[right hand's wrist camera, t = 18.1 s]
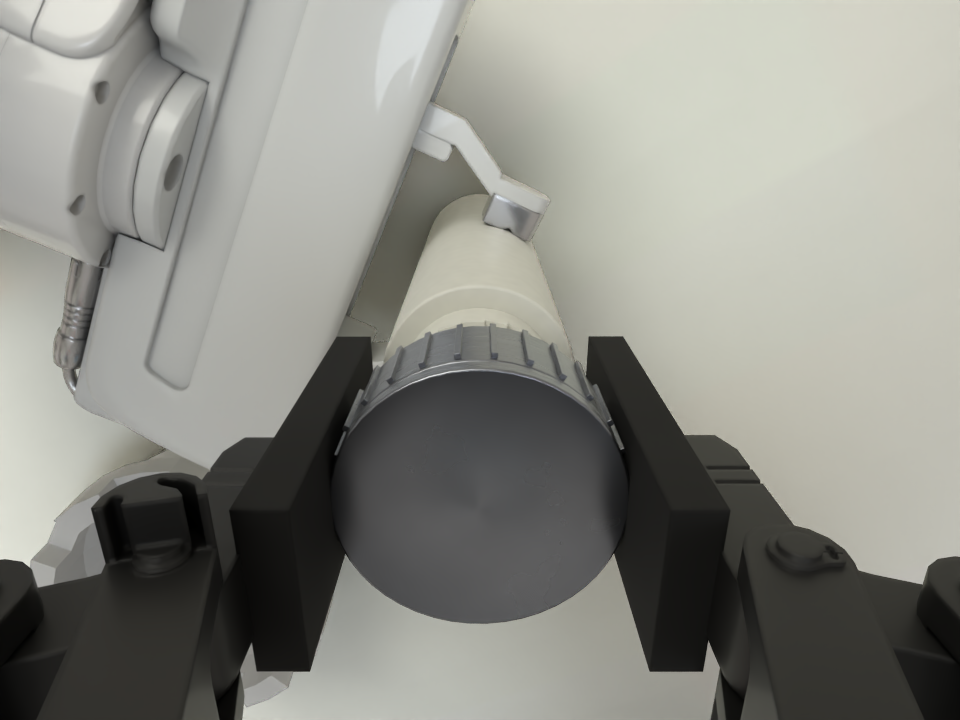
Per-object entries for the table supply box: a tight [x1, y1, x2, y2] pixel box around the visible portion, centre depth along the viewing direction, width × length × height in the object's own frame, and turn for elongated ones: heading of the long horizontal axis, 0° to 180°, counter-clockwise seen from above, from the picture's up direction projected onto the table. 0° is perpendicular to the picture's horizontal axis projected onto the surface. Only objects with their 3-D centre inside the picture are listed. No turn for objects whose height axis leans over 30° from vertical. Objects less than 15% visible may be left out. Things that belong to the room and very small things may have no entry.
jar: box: [383, 194, 574, 364], centre depth 21 cm, size 4×4×16 cm
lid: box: [330, 323, 629, 624], centre depth 11 cm, size 5×5×2 cm
